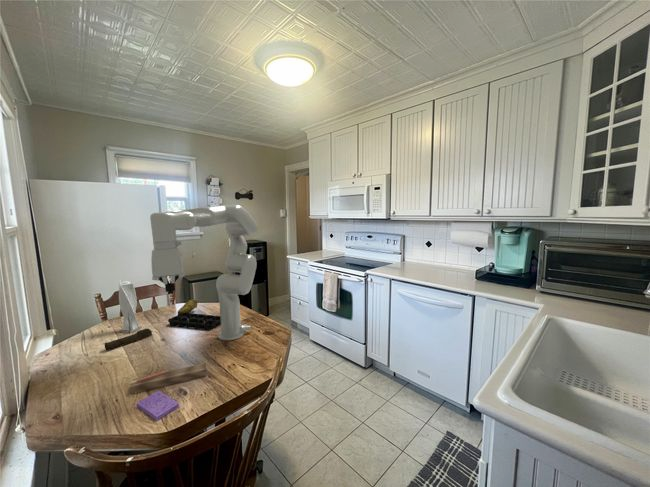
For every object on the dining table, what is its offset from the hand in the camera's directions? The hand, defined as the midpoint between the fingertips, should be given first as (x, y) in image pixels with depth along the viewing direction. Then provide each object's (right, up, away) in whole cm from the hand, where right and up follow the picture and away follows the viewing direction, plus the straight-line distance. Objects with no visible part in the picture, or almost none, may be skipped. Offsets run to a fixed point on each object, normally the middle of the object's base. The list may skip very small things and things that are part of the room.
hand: (170, 293), depth 102 cm
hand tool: (-36, -30, +28) cm, 54 cm away
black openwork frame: (-14, -27, +49) cm, 58 cm away
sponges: (+5, -34, -16) cm, 38 cm away
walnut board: (+2, -32, -2) cm, 32 cm away
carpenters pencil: (-4, -30, -5) cm, 31 cm away
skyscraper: (-46, -28, +42) cm, 69 cm away
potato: (-26, -25, +64) cm, 74 cm away
